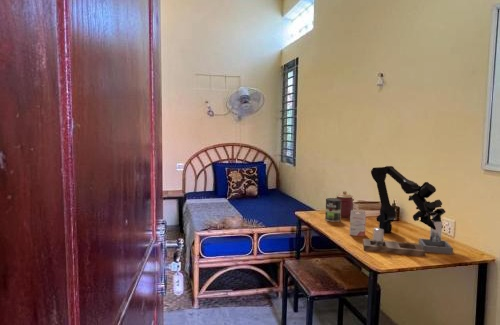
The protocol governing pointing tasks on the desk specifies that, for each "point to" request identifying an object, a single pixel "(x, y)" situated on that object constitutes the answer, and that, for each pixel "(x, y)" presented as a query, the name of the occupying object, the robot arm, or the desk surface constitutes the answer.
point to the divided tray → (394, 247)
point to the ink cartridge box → (357, 223)
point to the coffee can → (333, 209)
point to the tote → (433, 248)
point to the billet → (378, 236)
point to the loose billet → (436, 231)
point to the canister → (346, 203)
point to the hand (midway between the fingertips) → (438, 228)
